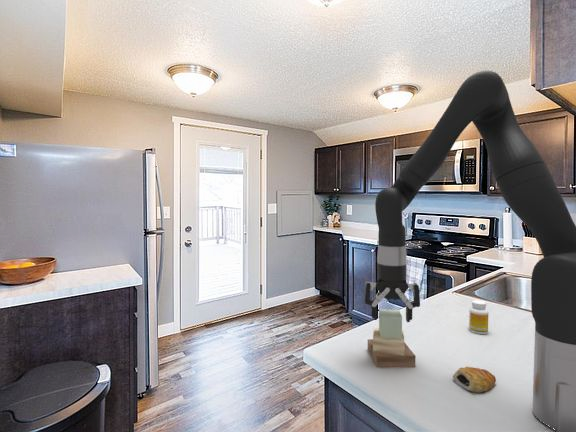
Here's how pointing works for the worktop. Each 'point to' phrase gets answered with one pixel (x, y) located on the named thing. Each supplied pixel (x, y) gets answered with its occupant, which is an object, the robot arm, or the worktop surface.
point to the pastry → (474, 379)
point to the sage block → (390, 324)
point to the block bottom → (392, 357)
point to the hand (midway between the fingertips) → (391, 320)
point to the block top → (388, 344)
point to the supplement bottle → (478, 317)
